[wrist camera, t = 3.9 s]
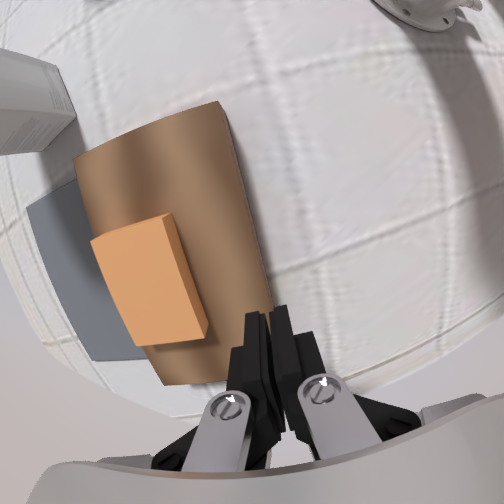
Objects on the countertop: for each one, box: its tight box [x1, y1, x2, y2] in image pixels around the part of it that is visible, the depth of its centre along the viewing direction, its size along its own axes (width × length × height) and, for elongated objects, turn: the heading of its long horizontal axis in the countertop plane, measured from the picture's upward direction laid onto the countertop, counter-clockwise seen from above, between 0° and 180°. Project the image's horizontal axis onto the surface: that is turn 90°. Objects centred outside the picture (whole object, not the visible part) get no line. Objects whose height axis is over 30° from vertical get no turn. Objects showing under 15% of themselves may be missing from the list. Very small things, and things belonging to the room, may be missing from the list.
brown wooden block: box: [73, 101, 274, 386], centre depth 21 cm, size 12×22×4 cm, turn 14°
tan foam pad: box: [90, 213, 209, 346], centre depth 19 cm, size 9×6×2 cm, turn 14°
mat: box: [26, 179, 148, 361], centre depth 24 cm, size 11×20×1 cm, turn 14°
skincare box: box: [0, 48, 76, 156], centre depth 12 cm, size 8×6×15 cm
